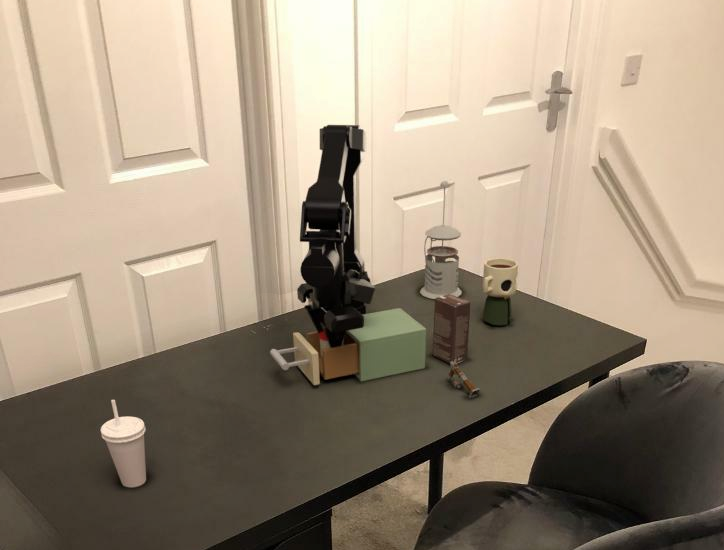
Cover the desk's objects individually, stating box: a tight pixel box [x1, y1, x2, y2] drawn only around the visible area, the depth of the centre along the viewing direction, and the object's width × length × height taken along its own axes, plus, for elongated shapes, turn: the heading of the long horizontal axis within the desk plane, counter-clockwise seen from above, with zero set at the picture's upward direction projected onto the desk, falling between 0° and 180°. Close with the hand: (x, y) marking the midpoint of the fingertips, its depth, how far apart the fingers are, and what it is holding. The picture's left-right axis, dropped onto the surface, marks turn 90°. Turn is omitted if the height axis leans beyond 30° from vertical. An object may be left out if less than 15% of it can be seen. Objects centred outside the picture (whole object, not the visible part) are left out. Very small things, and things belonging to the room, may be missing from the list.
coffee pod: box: [318, 331, 344, 357], centre depth 155 cm, size 5×5×4 cm
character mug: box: [482, 257, 519, 326], centre depth 174 cm, size 11×7×13 cm, turn 138°
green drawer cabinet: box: [346, 307, 427, 382], centre depth 159 cm, size 14×12×8 cm
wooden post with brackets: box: [446, 361, 481, 399], centre depth 151 cm, size 2×8×4 cm, turn 35°
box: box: [432, 294, 472, 364], centre depth 160 cm, size 6×4×12 cm
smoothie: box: [100, 399, 147, 488], centre depth 123 cm, size 6×6×14 cm
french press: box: [419, 180, 463, 300], centre depth 186 cm, size 10×12×25 cm
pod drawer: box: [269, 330, 359, 386], centre depth 155 cm, size 18×10×6 cm, turn 115°
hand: (331, 348), depth 155 cm, fingers closed on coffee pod, 4 cm apart
